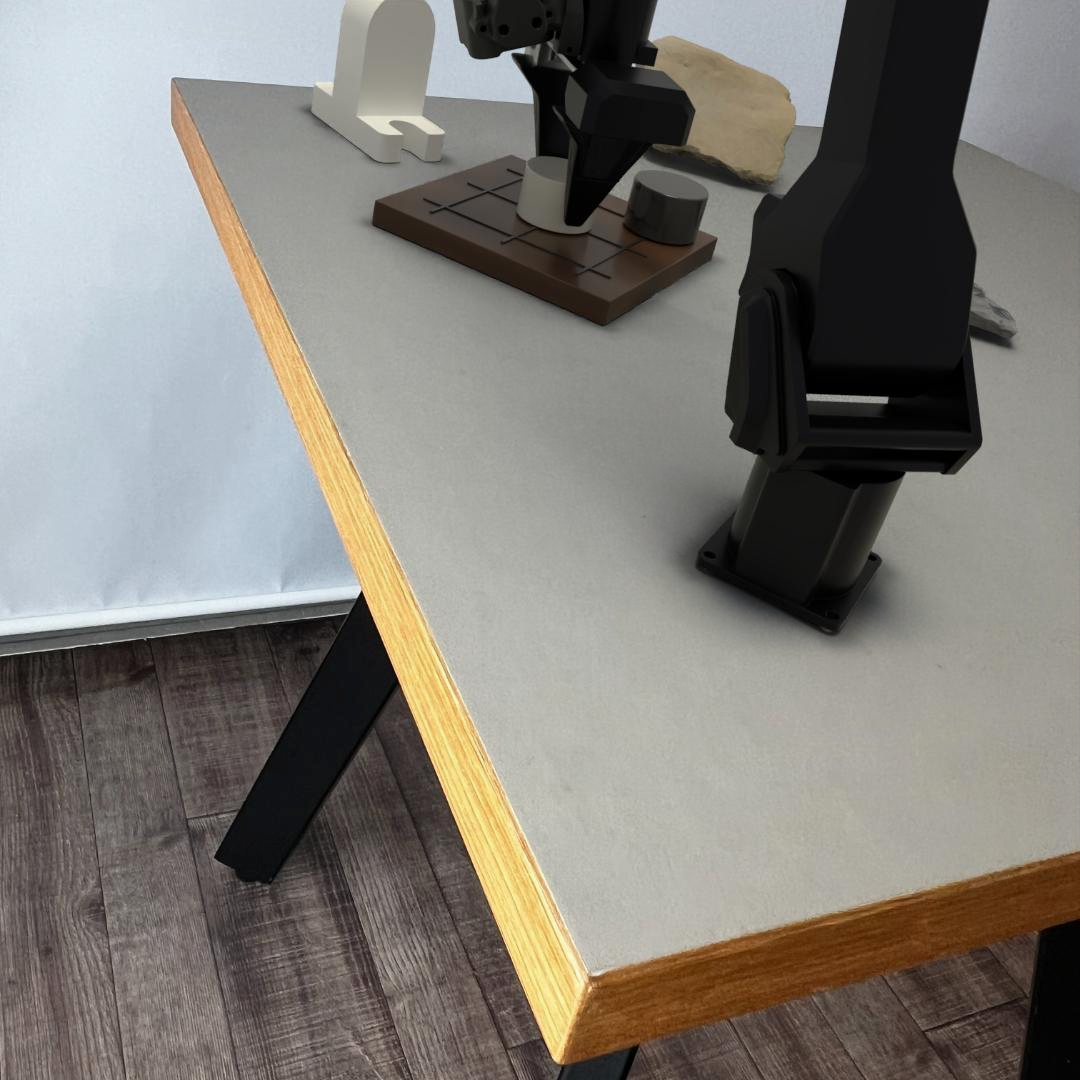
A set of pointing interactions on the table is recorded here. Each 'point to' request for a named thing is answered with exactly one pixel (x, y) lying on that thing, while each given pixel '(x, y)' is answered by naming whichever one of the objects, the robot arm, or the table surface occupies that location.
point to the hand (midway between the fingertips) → (558, 205)
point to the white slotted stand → (382, 80)
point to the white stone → (547, 195)
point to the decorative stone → (729, 110)
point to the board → (538, 242)
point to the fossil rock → (990, 315)
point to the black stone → (665, 207)
